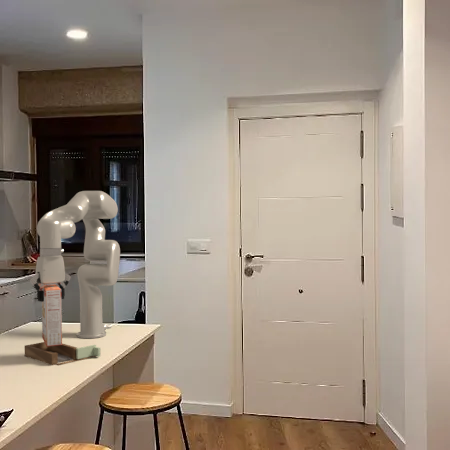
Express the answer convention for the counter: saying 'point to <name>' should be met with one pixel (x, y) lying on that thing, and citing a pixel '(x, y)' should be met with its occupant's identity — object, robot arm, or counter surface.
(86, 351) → the pale green l-shaped block
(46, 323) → the cracker box
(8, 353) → the counter surface
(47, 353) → the box
